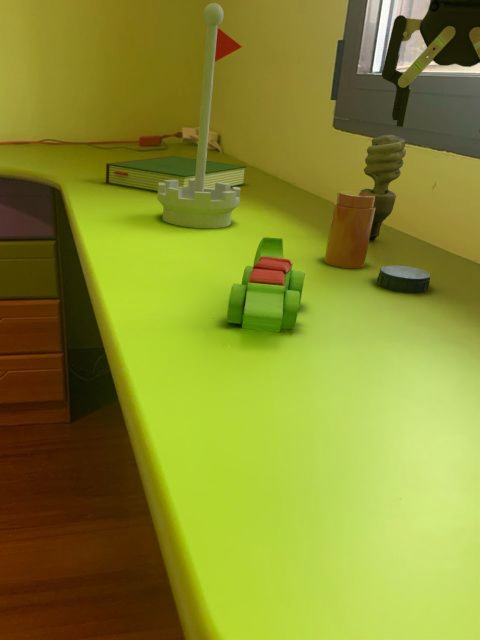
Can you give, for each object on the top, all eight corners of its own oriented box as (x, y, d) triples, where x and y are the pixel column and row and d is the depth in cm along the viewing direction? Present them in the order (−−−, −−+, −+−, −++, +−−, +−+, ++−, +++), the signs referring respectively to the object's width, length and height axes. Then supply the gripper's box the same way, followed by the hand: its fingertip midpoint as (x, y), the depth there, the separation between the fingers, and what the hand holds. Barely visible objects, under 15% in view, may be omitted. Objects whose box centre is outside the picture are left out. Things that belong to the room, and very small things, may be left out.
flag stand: (177, 230, 103) (193, -4, 89) (143, 213, 114) (153, 0, 100) (252, 228, 108) (278, 5, 94) (213, 211, 119) (231, 9, 105)
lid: (374, 288, 82) (377, 273, 81) (379, 276, 87) (382, 262, 86) (426, 296, 80) (430, 281, 79) (428, 283, 85) (431, 269, 84)
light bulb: (391, 246, 103) (414, 137, 95) (355, 244, 102) (375, 135, 95) (381, 237, 107) (402, 133, 100) (346, 235, 107) (365, 131, 100)
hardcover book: (172, 173, 158) (173, 155, 156) (244, 184, 148) (246, 166, 147) (103, 183, 139) (103, 163, 137) (181, 197, 130) (182, 176, 128)
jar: (358, 259, 94) (371, 191, 90) (368, 269, 89) (383, 198, 85) (320, 257, 94) (331, 189, 90) (329, 267, 89) (341, 196, 85)
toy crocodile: (289, 353, 61) (300, 286, 58) (216, 342, 62) (223, 276, 60) (303, 292, 78) (312, 238, 75) (245, 285, 79) (251, 232, 77)
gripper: (403, -58, 66) (370, 126, 73) (567, -58, 62) (515, 137, 69) (406, -46, 72) (376, 123, 80) (555, -45, 68) (509, 133, 76)
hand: (441, 129), depth 75 cm, fingers open, 8 cm apart
